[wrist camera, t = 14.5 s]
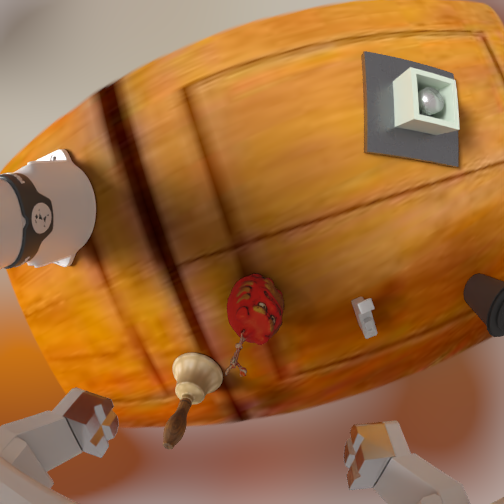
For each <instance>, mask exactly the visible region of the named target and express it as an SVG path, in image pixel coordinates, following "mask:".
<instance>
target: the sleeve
mask: <svg viewBox="0 0 504 504" xmlns="http://www.w3.org/2000/svg"><path fill="white" fill-rule="evenodd" d="M426 87H433V88H435V89H436V90H438V91H439V92H440V94H441V95H442V97H443V100H444V106H443V109H442V110H441V111H440V112H437V113H435V114H432V115H431V116H432V117H429V116H425V115H421V114H419V102H418V92H419V91H421V90H422V89H424V88H426ZM393 94H394V117H395V127H397V128H403V129H409V130H414V131H419V132H424V133H428V134H433V135H440V134H444V133H448V132H453V131H457V130H460V128H459V111H458V99H457V89H456V80H453V79H450V78H447V77H444V76H441V75H437V74H434V73H430V72H427V71H423V70H420V69H416V68H412V67H410V68H409V69H407V70H406V71H405V72H404V73H402V74H401V75H400V76H399V77H398V78H396V79H395V80H394V81H393Z"/></svg>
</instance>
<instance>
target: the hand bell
mask: <svg viewBox="0 0 504 504" xmlns="http://www.w3.org/2000/svg"><path fill="white" fill-rule="evenodd" d="M173 374H174V377H175V379H176V381H177V385H176V388H175V391H176V394H177V396H178V398H179V399H181V400H180V403H179V406H178V408H177V411H176V412H175V413H174V414H173V415H172V416H171V417H170V419H169V420H168V422H167V423H166V426H165V428H164V434H163V437H164V441H163V446H164V447H165V448H167V449H173V447H174V446H175V445H176V444H177V443H178V442H179V441H180V440H181V438H182V437H183V435H184V432H185V429H186V417H187V413H188V411H189V409H190V407H191V405H192V404H198V403H200V402H202V401H203V399H204V397H205V396H206V394H207V393H211V392H213V391H215V390H216V389H218V388H219V387H220V385H221V383H222V381H223V374H222V371H221V368H220V367H219V365H218V364H217V363H216V362H215V361H214V360H212V359H211V358H209V357H208V356H205V355H203V354H198V353H185V354H183V355H181V356H179V357H178V358H177V359H176V360H175V361H174V363H173Z"/></svg>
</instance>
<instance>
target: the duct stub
mask: <svg viewBox="0 0 504 504" xmlns="http://www.w3.org/2000/svg"><path fill="white" fill-rule="evenodd" d="M361 56H362V71H363V92H364V153H371V154H379V155H386V156H393V157H400V158H407V159H413V160H419V161H424V162H430V163H435V164H441V165H446V166H451V167H458V130H457V131H453V132H448V133H444V134H440V135H433V134H428V133H424V132H419V131H414V130H409V129H403V128H397V127H395V117H394V94H393V81H394V80H395V79H396V78H398V77H399V76H400V75H401V74H402V73H404V72H405V71H406V70H407V69H409V68H410V67H412V68H416V69H420V70H423V71H427V72H430V73H434V74H437V75H441V76H444V77H447V78H450V79H453V80H454V76H453V73H450V72H447V71H443V70H440V69H437V68H434V67H430V66H427V65H423V64H420V63H416V62H412V61H408V60H404V59H400V58H396V57H391V56H386V55H382V54H376V53H371V52H365V51H364V52H363V54H362V55H361ZM418 102H419V114H421V115H425V116H429V117H432V116H431V115H432V114H435V113H437V112H440V111H441V110H442V109H443V106H444V100H443V97H442V95H441V94H440V92H439V91H438V90H436V89H435V88H433V87H426V88H424V89H422V90H421V91H419V92H418Z"/></svg>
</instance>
